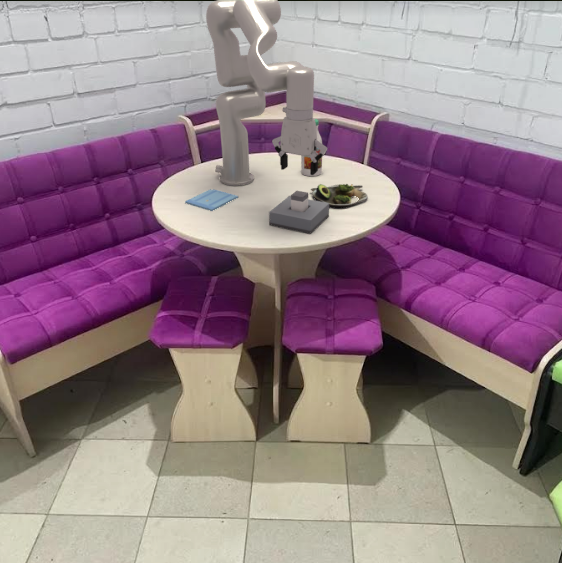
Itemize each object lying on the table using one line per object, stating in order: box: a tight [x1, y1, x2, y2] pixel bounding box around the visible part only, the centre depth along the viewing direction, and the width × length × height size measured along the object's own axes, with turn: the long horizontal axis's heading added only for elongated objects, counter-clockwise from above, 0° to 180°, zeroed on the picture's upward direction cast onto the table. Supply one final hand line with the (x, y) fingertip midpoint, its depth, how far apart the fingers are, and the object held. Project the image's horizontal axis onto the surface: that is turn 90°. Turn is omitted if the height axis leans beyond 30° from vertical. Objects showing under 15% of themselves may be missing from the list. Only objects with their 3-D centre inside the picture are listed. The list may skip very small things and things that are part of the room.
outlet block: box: [268, 195, 330, 235], centre depth 176 cm, size 14×14×4 cm
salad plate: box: [310, 183, 368, 209], centre depth 192 cm, size 19×18×5 cm
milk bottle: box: [300, 118, 323, 177], centre depth 208 cm, size 8×8×20 cm
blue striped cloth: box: [184, 188, 239, 212], centre depth 192 cm, size 14×12×1 cm
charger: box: [290, 190, 309, 212], centre depth 174 cm, size 4×4×8 cm
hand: (298, 170), depth 169 cm, fingers open, 9 cm apart
